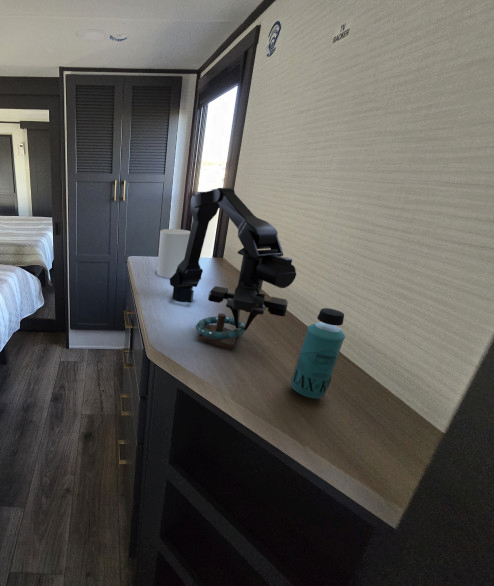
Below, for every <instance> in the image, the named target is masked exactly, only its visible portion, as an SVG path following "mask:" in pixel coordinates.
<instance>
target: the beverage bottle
mask: <svg viewBox="0 0 494 586" xmlns="http://www.w3.org/2000/svg"><path fill="white" fill-rule="evenodd" d="M344 319H345V313H344V312H342V311H340V310H337V309H334V308H328V307H325V308H321V309H320V310H319V313H318V315H317V320H318V321H317V322H314V323H312V324H310V325H308V326H307V328H306V329H307V331H306V333H305V337H304V340H303V343H302V347H301V350H300V352H299V353H298V357H297V360H296V361H297V362H296V364H295V366H294V370H293V371H292V373H293V374H292V377H291V380H290V381H291V387H292V389H293V390H294V391H295V392H297V394H300V395H302V396H303V397H306V398H309V399H321V398H323V397H324V396H325V395H326V393H327V391H328V389H329V386H330V383H331V380H332V378H333V376H332V375H333V372H334V369H335V366H336V364H337V362H338V358H339V357H340V355H339V354H340V351H341V349H342V345H343V342H344V340H345V338H346V335H345V333H344V332H343V331H342V329H341V328H340V327H338V326H342V325H343V324H344Z"/></svg>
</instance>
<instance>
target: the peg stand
mask: <svg viewBox="0 0 494 586" xmlns="http://www.w3.org/2000/svg"><path fill="white" fill-rule="evenodd" d="M217 316H218V319H217V323H216V325H212V324H208V325H206V326H204V328H205V329H208V330H210V331H218V332H225V331H232V330H233V329H229V328H225V324H226V323H225V317H227V315H226V314H225V313H221V312H219V313H218V314H217ZM237 338H238V337H235V338H231V339H214V338H208V337H206V336H204V335H201V334H200V333H199V335H198V339H197V341H199V342H202V343H205V344H210V345H214V346H217V347H220V348H224V349H228V350H232V349H233V347H234V344H235V342H236V340H237Z"/></svg>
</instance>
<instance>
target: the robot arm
mask: <svg viewBox="0 0 494 586" xmlns="http://www.w3.org/2000/svg"><path fill="white" fill-rule="evenodd" d="M219 208H220V209H222V211H223V212H224V213H225V215H226V217H228V218H229V220H230V221H231V222H232V223H233V224H234V226H235V227H236V229H237V237H238V239H239V241H240V243H241V245H242V247H243V248H241V249H239V250H238V251H237V255H240V256H242V259H241V265H240V269H239V275H238V281H237V286H236V288H235V289H234V292H229V288H228V287H223V286H218V285H215V286H213V287H212V288H211V290H209V293H208V298H207V301H208V302H212V303H218V304H220V303H222V302H223V301H224V300H226V301H227V302H226V304H225V307H226V308H229V309H230V311H231V313H232V318H234V322H235V326H234V327H235V329H237V328H238V324H239V320H240V315H241V311H244V312H245V313H249V315H248V317H247V320H246V322H245V324H244V325H245V331H247V330H248V329H249V327H250V325H251V324H252V322H253V320H254V319H255V318H256V317H257V316H258V315H261V316H262V315H264V313H265V310H266V309H267V311H268V313H269V314H270V315H274V316H278V317H285V316H286V312H287V310H288V304H289V301H288V300H287V299H286V298H282V297H281V298H280V297H275V296H271V297H270V300H268V299H266V294H265V293H261V292H262V287H263V283H264V282H265V283H268V284H269V285H273V286H275V287H277V288H280V289H286V288H288V287H289V286H290V285H292V284H293V282H294V281H295V279H296V277H297V270H296V267H295V265H293V264H292V263H293V259H292V258H290V257H284V251H283V247H282V245H281V241H280V239H279V236H278V233H279V232H278V230H277V229H276V227H275V226H274V225H272V224H271V223H269V222H268V221H267V220H264V219H262V218H260V217H257V216H256V215H255V214H254V213H253V212H252V211H251V209H249V207H247V206H246V204H245V203H244V202H243V201H242V200H241V199H240V197H238V195H237V194H236V191H235V190H234V188H232V187H217V188H214V189H211V190H208V191H196V192H195V193H194V194H193V195H192V197H191V199H190V209H189V211H190V213H191V216H192V223H191V227H190V230H189V231H190V236H189V240H188V244H187V249H186V253H185V257H184V260H183V261H182V262H181V263H180V264H179V265H178V267H177V270H176V273H175V274H174V275H173V276H172V277H171V278H169V285H170V286H171V287H173V289H172V296H171V297H172V300H174V301H176V302H180V303H192V302H193V300H194V293H195V290H194V287H195V288H197V287H198V285H199V282H200V281H201V280H202V274H203V271H204V269H203V268H201V265H200V263H199V262H200V259H201V254H202V251H203V248H204V247H203V246H204V242H205V239H206V236H207V231H208V228H209V224H210V222H211V221H212V220H213V218H214V217H215V216H216V215H217V214H218V211H219Z"/></svg>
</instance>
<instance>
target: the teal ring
mask: <svg viewBox="0 0 494 586" xmlns="http://www.w3.org/2000/svg"><path fill="white" fill-rule="evenodd" d="M217 319H218V315H217V316H208V317H206V318H202V319H200V320H199V321H198V322H197V323H196V325H195V329H196V330H197V332H198V334H199V335H200V334H201V335H204V336H206V337H208V338H214V339H231V338H235V337H237V338H238V337H240V336H242V335H244V333H245V331H246V330H245V325H246V324H245V323H244V322H243V321H242V320H240V319H239V324H238V328H235V329H231V330H232V331H225V332H218V331H210V330H208V329H205V326H206V325H208V324H209V325H212V324H217ZM224 324H228V325H231V326H234V327H235V322H234V317H232V316H226V317H225V323H224Z"/></svg>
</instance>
